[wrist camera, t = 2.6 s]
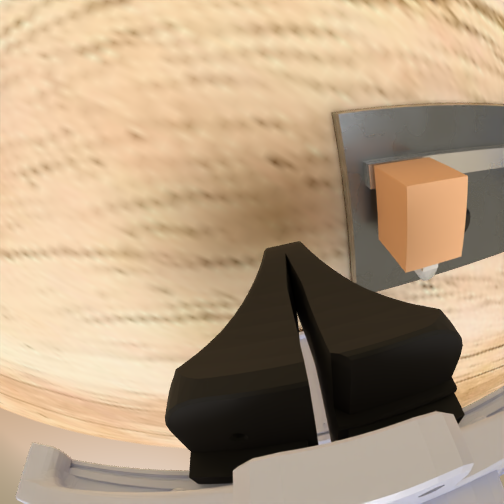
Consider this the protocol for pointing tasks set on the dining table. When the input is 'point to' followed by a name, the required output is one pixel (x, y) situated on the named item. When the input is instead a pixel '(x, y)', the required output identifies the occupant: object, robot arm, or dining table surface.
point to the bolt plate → (415, 147)
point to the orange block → (421, 213)
